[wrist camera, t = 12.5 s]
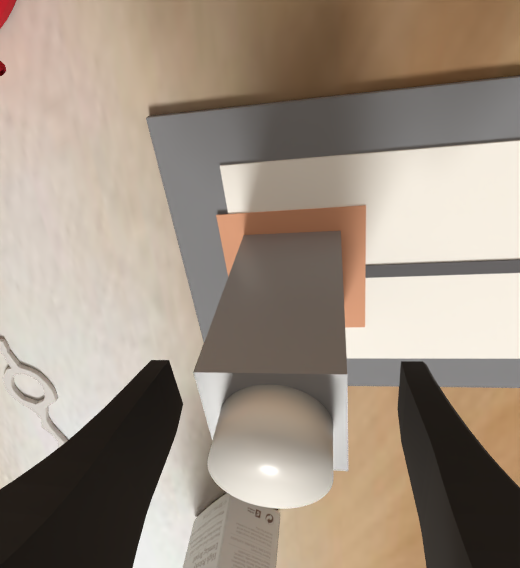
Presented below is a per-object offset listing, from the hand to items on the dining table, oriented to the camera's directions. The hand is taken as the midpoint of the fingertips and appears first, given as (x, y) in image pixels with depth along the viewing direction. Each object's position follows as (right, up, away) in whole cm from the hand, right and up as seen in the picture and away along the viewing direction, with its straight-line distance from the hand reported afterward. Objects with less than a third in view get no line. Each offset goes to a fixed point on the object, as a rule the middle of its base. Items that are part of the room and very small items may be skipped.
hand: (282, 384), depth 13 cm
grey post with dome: (+1, +4, +5) cm, 6 cm away
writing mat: (+7, +4, +5) cm, 9 cm away
